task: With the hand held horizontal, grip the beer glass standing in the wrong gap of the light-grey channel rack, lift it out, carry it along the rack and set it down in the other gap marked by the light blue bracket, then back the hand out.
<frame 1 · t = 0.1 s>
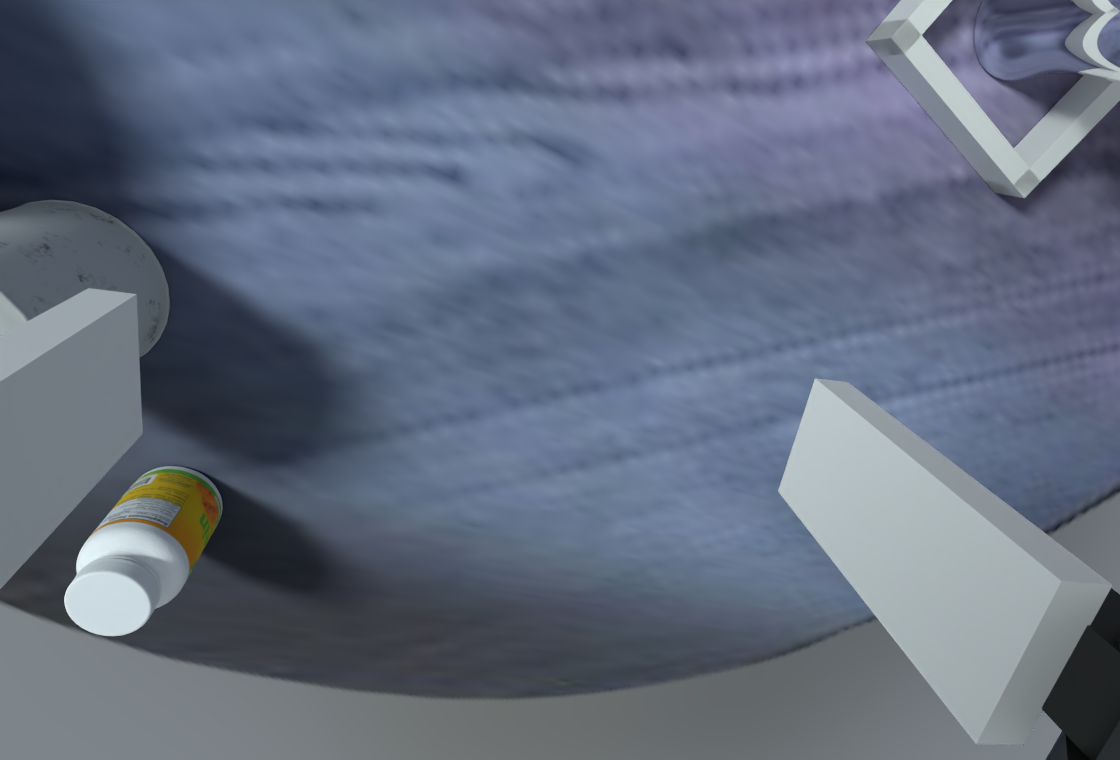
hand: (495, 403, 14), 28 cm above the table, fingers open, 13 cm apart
supplement bottle: (179, 499, 44), on the table
gray cylinder: (77, 288, 39), on the table
beer glass: (1020, 23, 40), on the table
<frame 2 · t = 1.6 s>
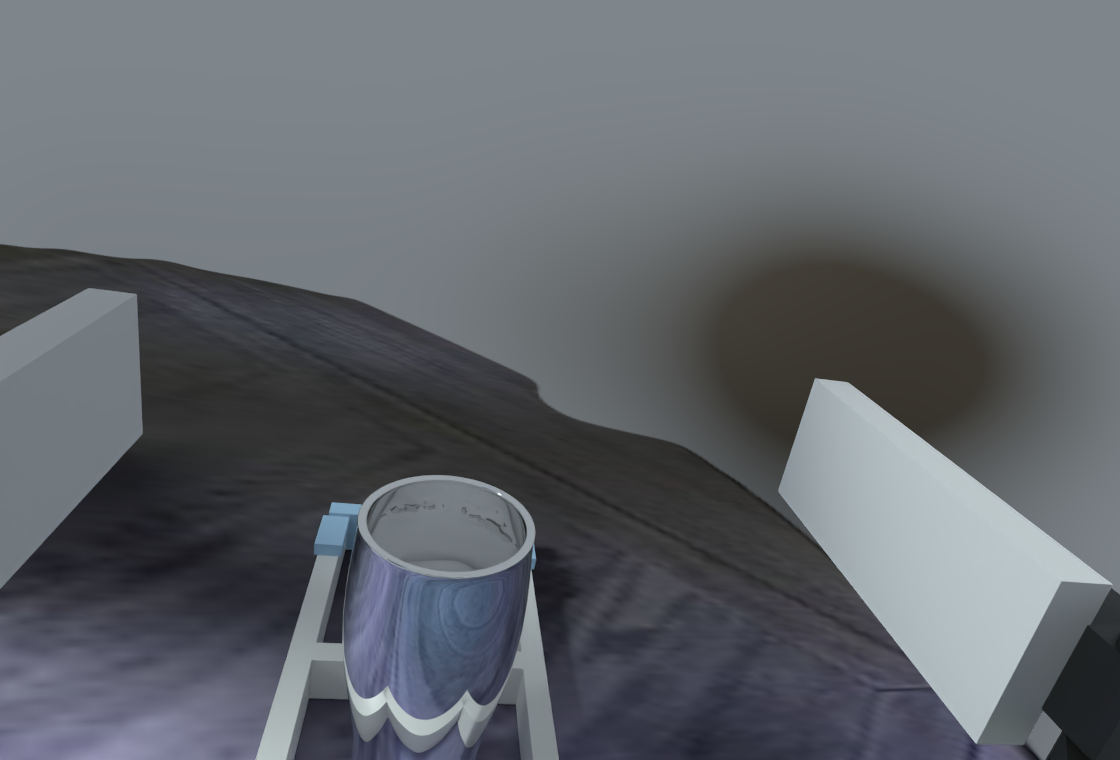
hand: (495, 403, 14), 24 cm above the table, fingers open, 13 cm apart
light blue bracket: (421, 611, 43), on the table
channel rack: (415, 692, 37), on the table
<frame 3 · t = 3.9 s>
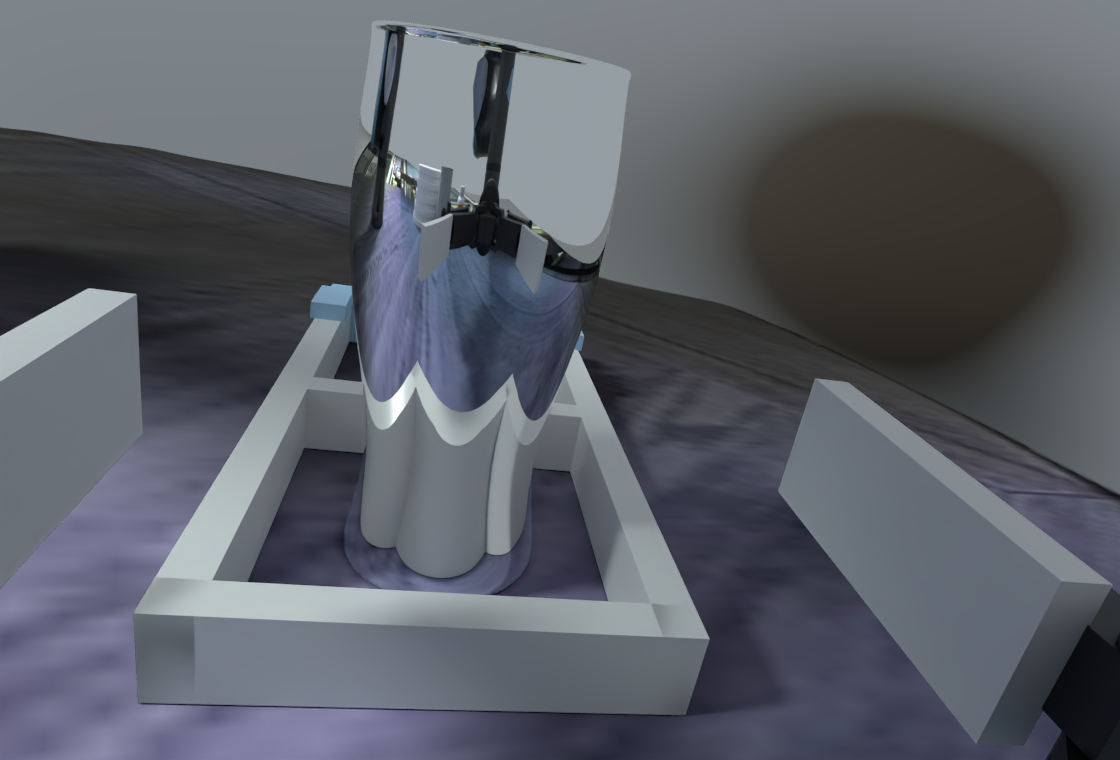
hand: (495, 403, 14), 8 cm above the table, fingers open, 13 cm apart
light blue bracket: (444, 392, 35), on the table
channel rack: (442, 452, 29), on the table
beer glass: (438, 548, 23), on the table
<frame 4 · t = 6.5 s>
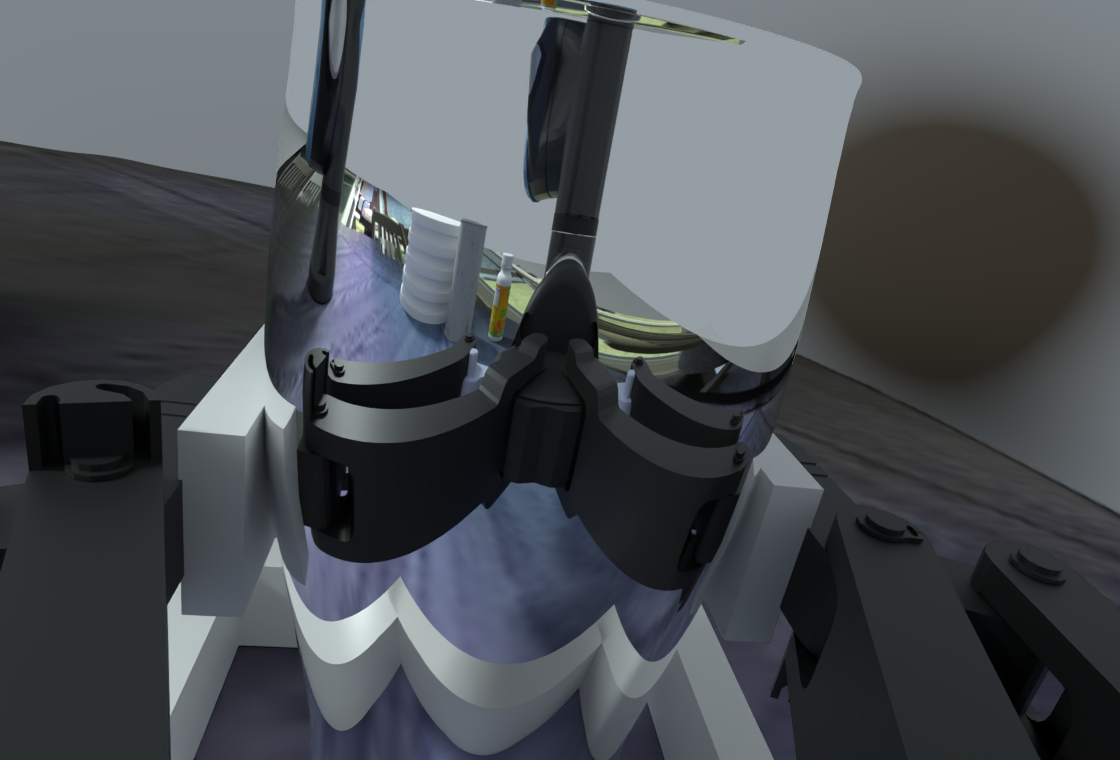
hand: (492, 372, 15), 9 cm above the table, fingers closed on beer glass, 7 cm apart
channel rack: (447, 637, 20), on the table
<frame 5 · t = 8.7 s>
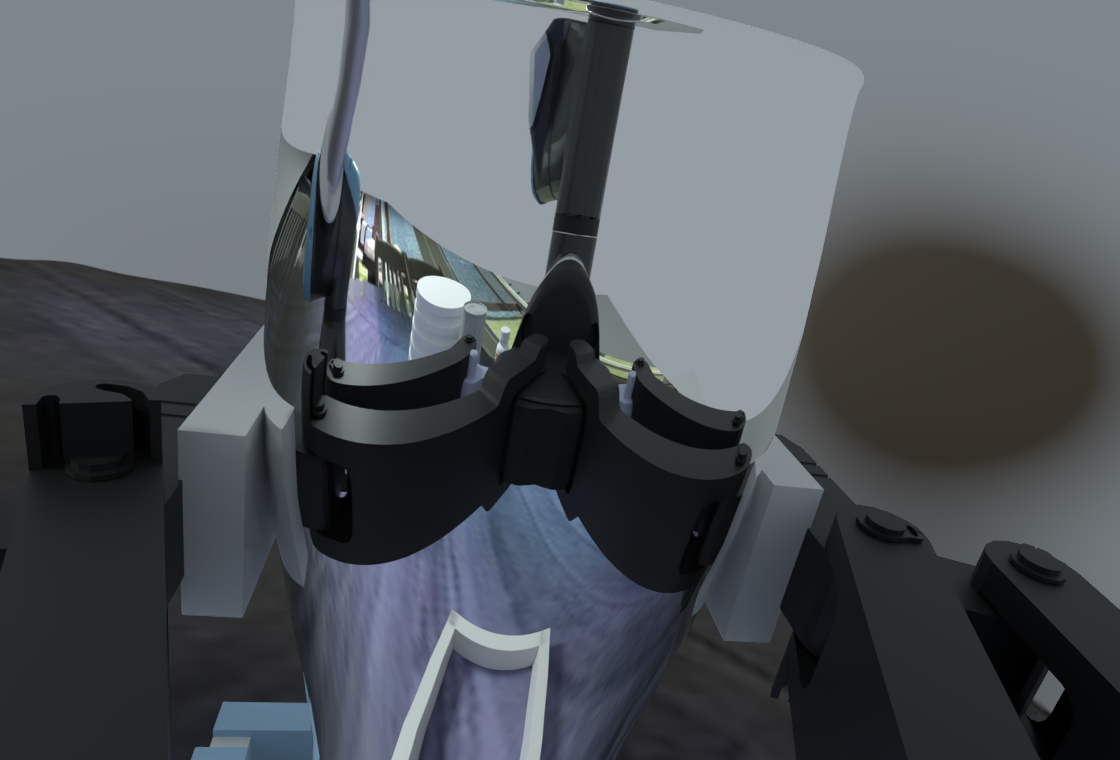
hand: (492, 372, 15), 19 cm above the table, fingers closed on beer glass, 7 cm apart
when the fingers open (10 cm above the table, at t = 11.1 s): beer glass drops 1 cm, on the table.
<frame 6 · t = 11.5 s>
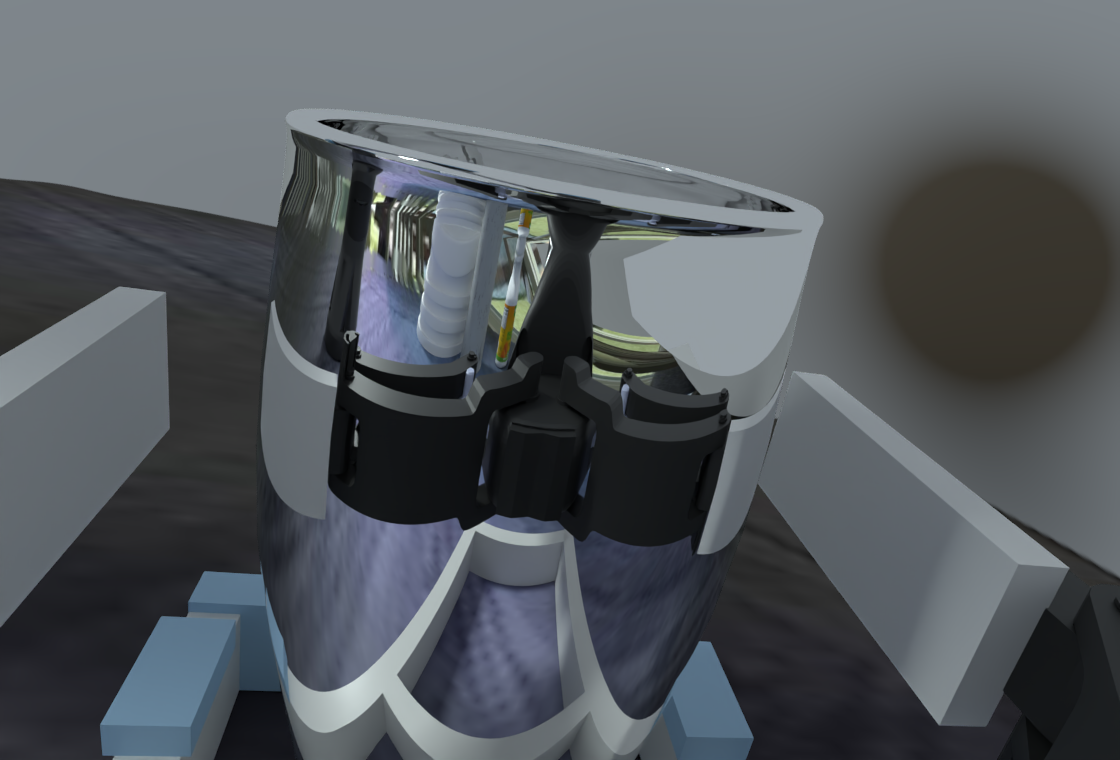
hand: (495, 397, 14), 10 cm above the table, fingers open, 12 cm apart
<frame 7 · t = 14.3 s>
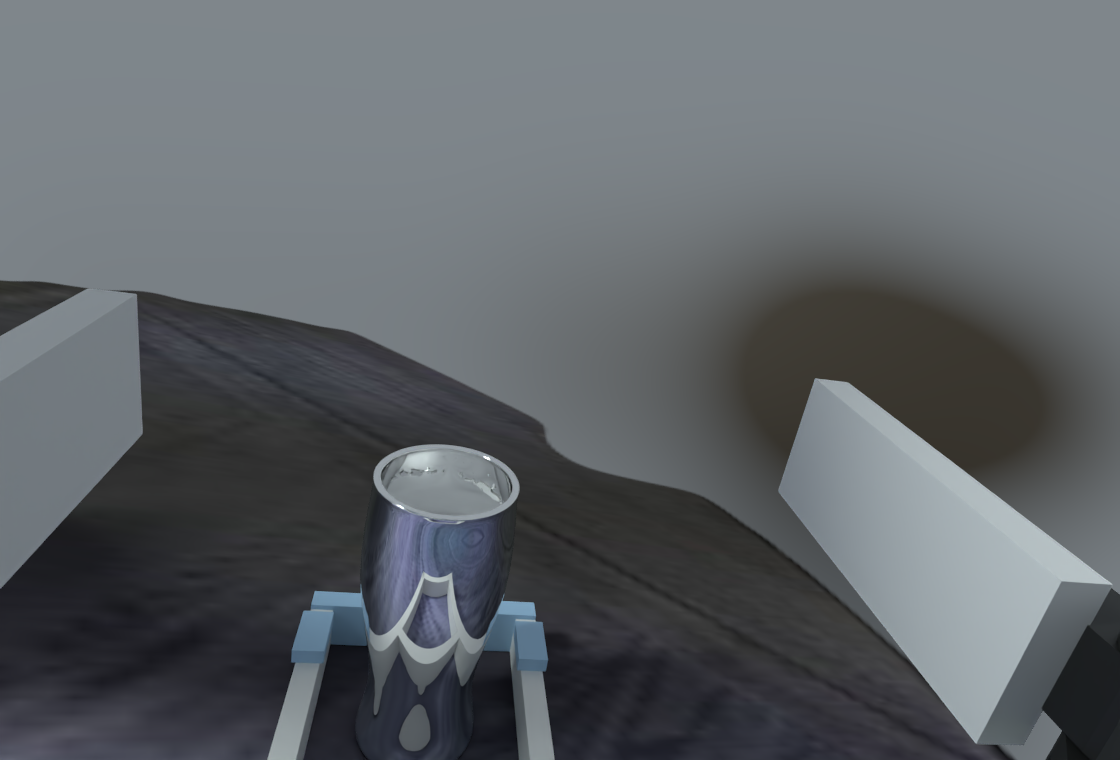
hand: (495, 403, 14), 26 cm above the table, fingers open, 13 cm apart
light blue bracket: (416, 725, 37), on the table
beer glass: (414, 728, 37), on the table
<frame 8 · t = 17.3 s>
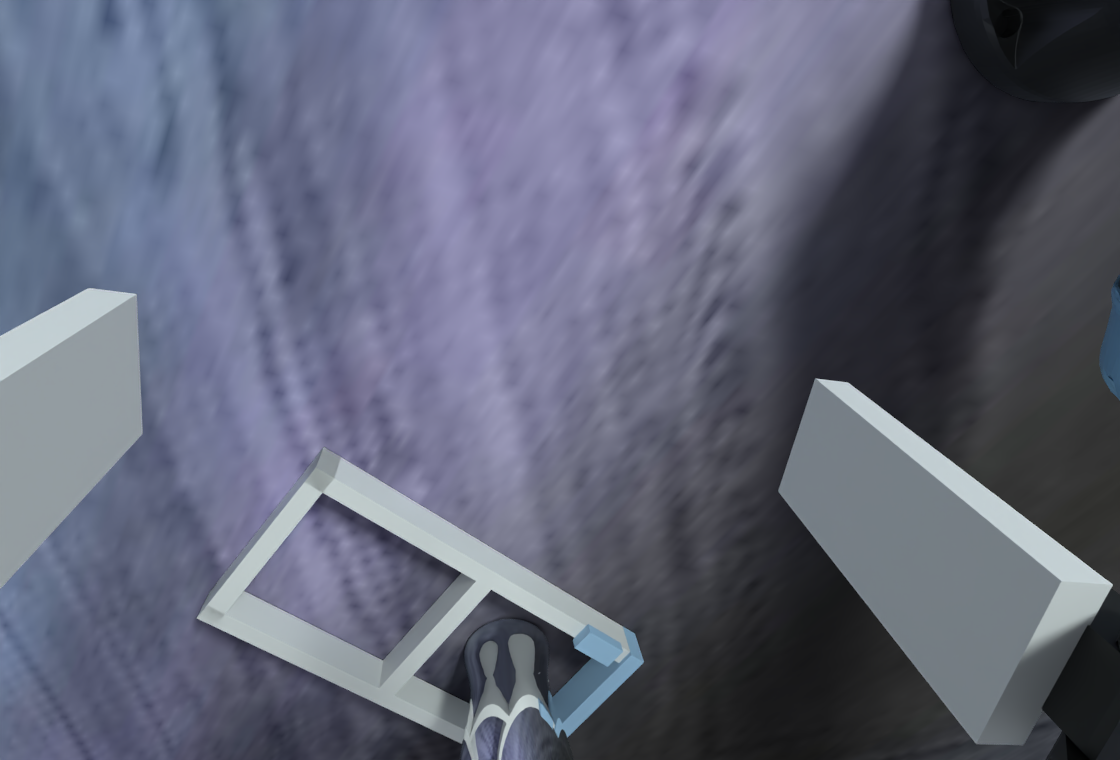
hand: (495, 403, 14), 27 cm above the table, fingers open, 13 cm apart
light blue bracket: (506, 652, 51), on the table
channel rack: (435, 613, 49), on the table
beer glass: (506, 649, 51), on the table
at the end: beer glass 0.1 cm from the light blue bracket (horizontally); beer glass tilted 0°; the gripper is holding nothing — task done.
